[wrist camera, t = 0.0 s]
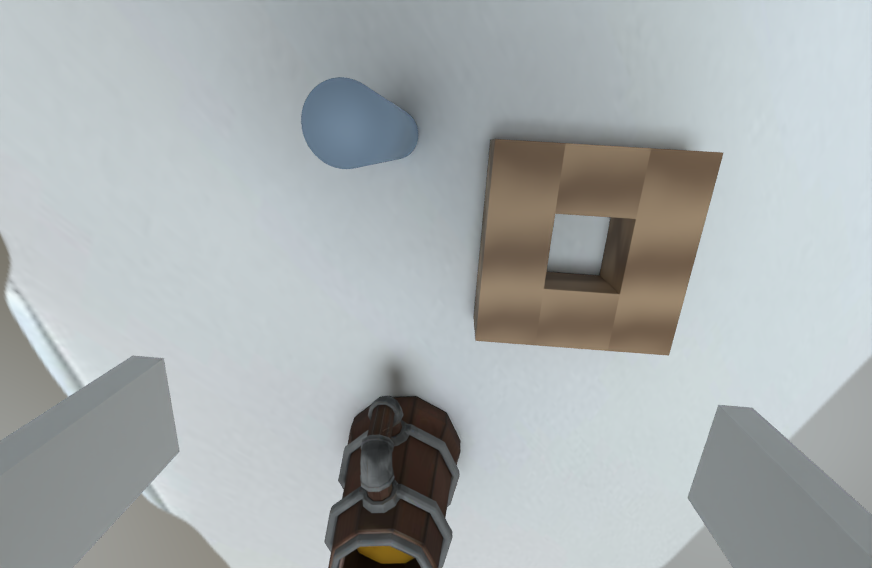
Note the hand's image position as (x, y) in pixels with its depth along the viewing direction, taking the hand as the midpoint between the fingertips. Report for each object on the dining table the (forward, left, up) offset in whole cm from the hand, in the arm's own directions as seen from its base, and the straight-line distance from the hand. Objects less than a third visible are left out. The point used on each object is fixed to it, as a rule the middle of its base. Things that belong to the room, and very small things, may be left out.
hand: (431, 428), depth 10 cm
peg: (-7, -5, -28) cm, 29 cm away
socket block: (+1, +11, -28) cm, 30 cm away
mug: (+22, -4, -28) cm, 36 cm away
